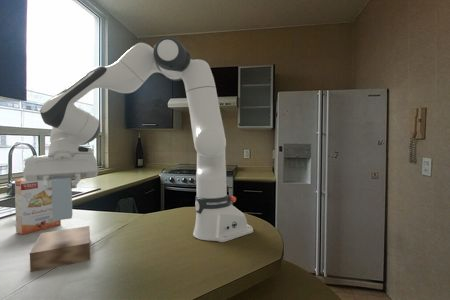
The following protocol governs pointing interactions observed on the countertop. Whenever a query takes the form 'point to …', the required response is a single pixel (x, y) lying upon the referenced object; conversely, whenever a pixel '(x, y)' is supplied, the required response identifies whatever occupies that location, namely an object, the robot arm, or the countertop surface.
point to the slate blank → (61, 199)
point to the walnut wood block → (60, 248)
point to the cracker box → (33, 206)
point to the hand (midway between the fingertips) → (62, 188)
